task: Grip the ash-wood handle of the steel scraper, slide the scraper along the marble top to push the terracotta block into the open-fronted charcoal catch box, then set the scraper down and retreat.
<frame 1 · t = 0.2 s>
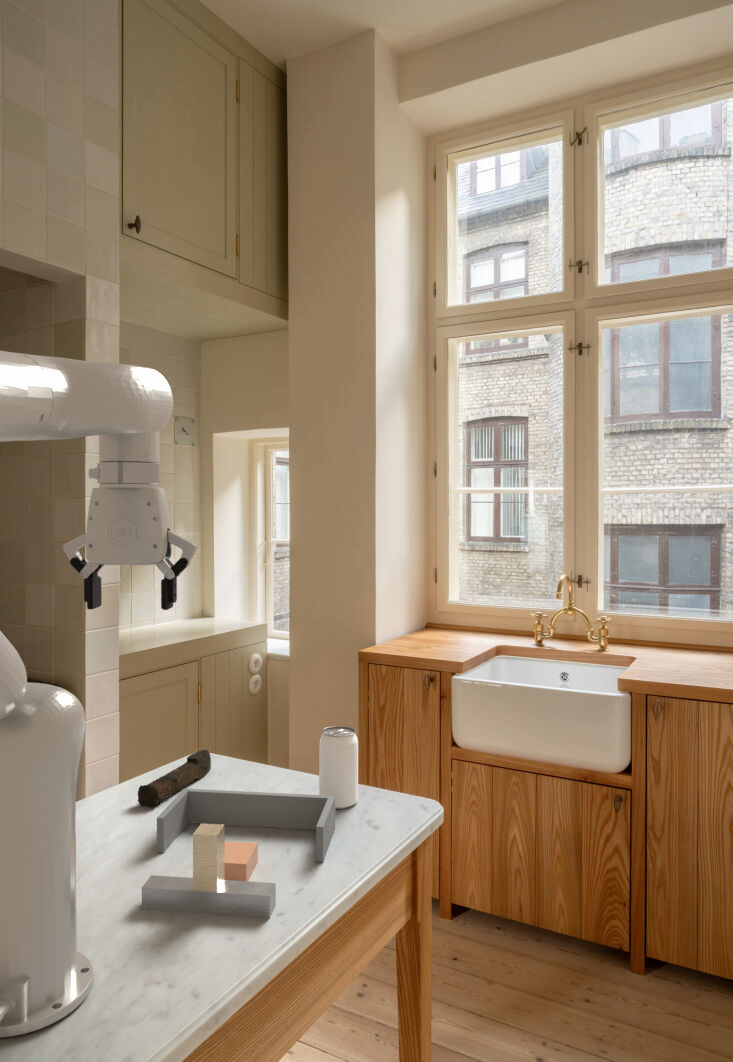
hand: (130, 608, 97), 36 cm above the table, tool pointing down, fingers open, 9 cm apart
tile: (230, 873, 100), on the table
catch box: (248, 841, 109), on the table
can: (338, 803, 124), on the table
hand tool: (177, 789, 130), on the table
scraper: (209, 909, 91), on the table
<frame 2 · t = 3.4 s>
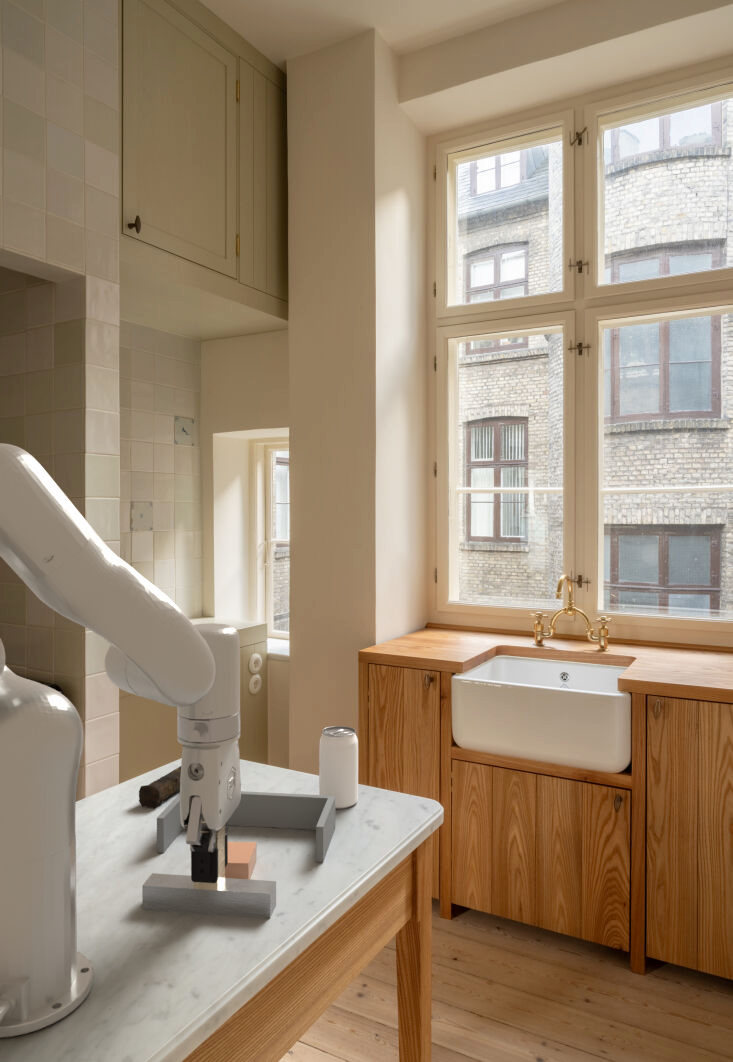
hand: (209, 872, 91), 4 cm above the table, tool pointing down, fingers closed on scraper, 3 cm apart
scraper: (209, 907, 91), on the table, touching gripper
everything else where it was.
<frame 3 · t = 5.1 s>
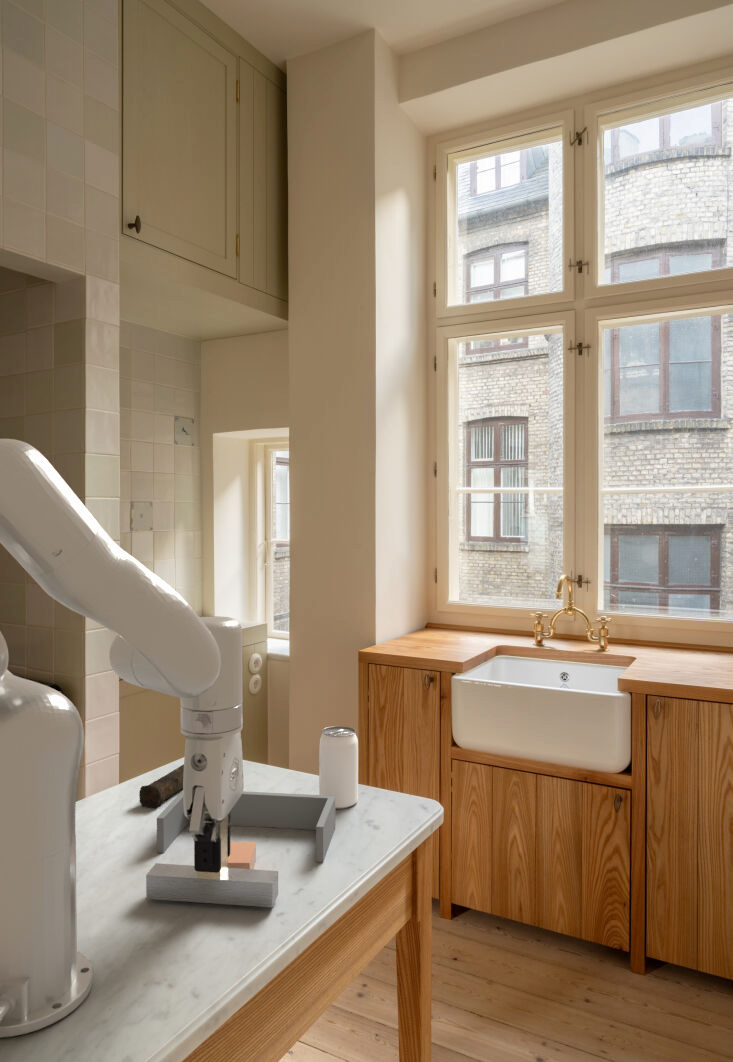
hand: (212, 862, 92), 5 cm above the table, tool pointing down, fingers closed on scraper, 3 cm apart
scraper: (212, 896, 92), point 1 cm above the table, touching gripper
everything else where it was.
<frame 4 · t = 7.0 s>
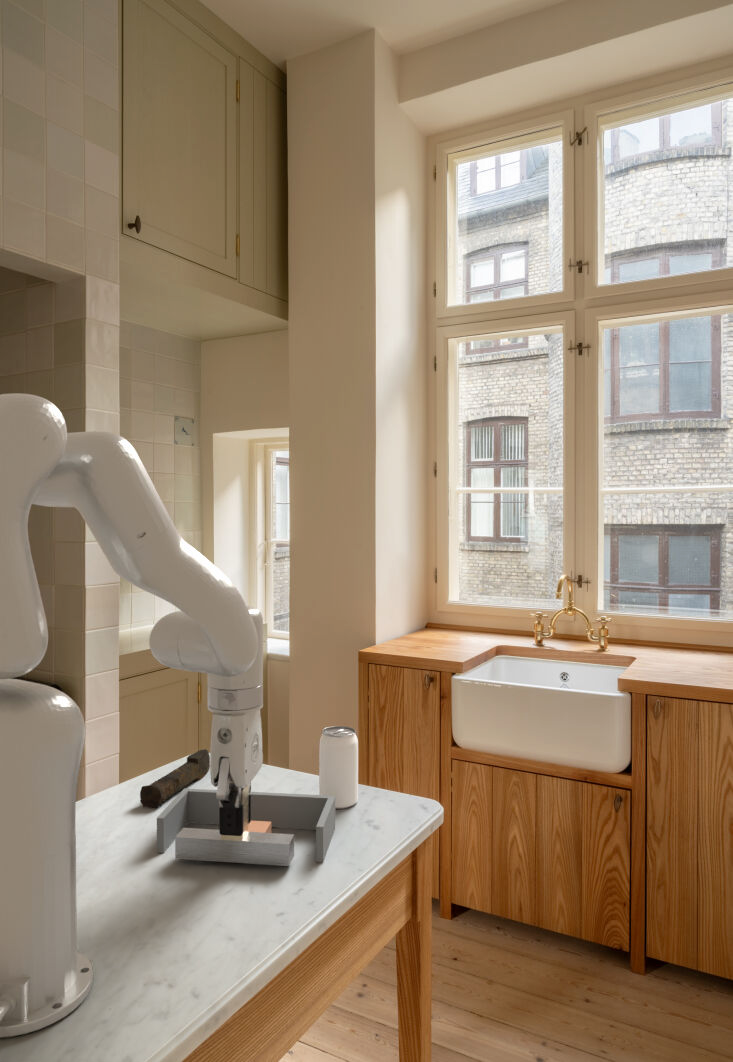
hand: (235, 827, 102), 5 cm above the table, tool pointing down, fingers closed on scraper, 3 cm apart
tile: (246, 849, 107), on the table
scraper: (235, 857, 102), point 1 cm above the table, touching gripper
everything else where it was.
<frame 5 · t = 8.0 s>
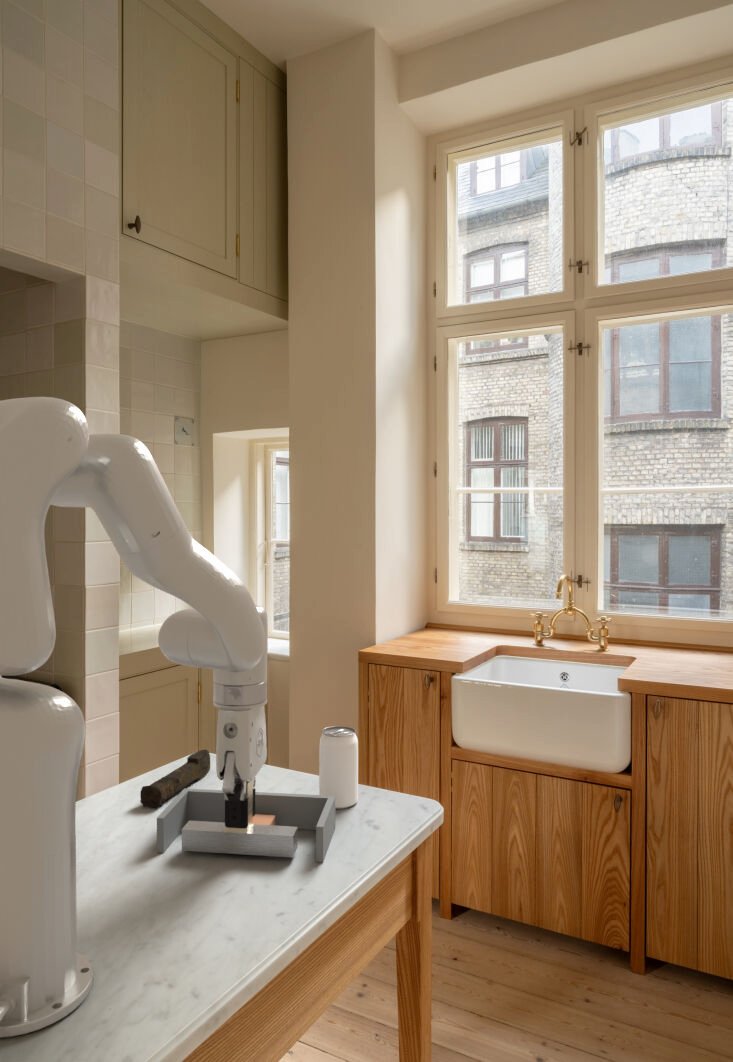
hand: (240, 820, 105), 5 cm above the table, tool pointing down, fingers closed on scraper, 3 cm apart
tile: (250, 842, 109), on the table
scraper: (239, 849, 105), point 1 cm above the table, touching gripper
everything else where it was.
when the fingers open (4 cm above the table, at t = 10.5 s): scraper stays where it is, on the table.
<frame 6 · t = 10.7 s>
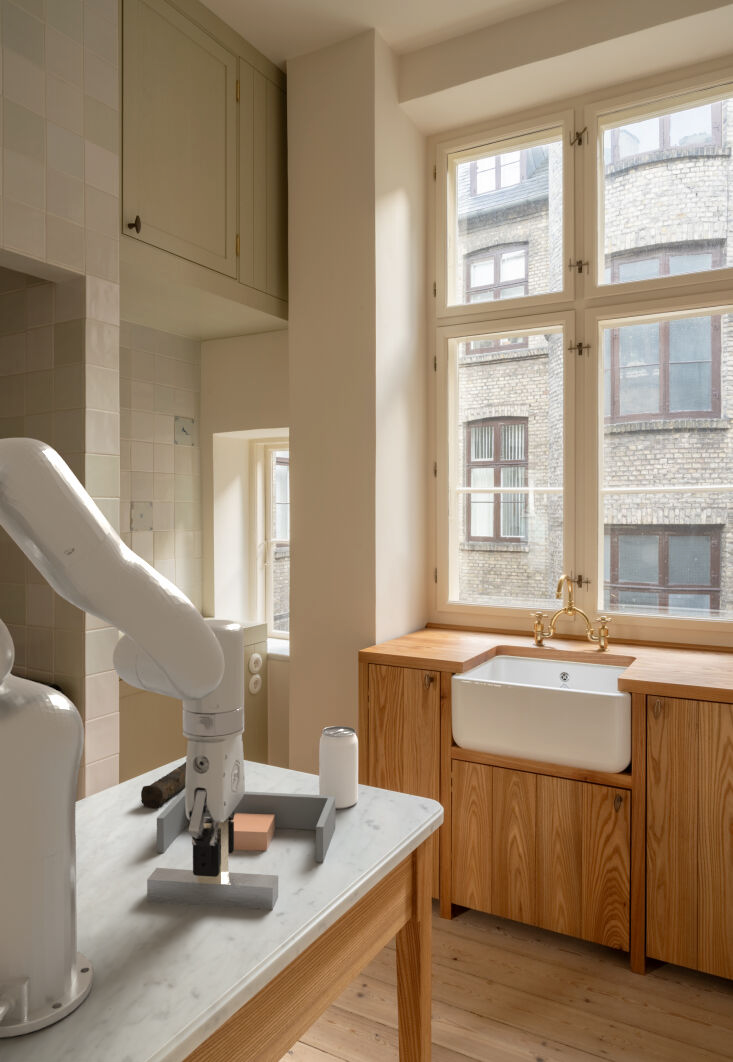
hand: (214, 861, 93), 5 cm above the table, tool pointing down, fingers open, 5 cm apart
scraper: (213, 900, 93), on the table
everything else where it was.
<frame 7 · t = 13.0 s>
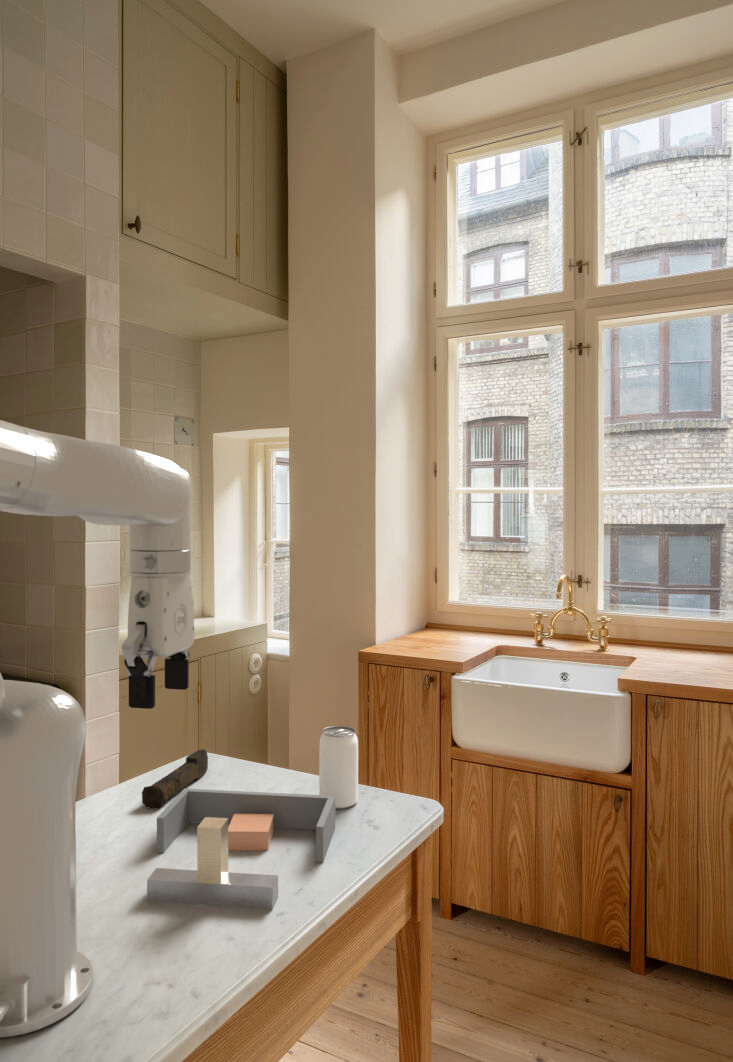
hand: (160, 697, 94), 25 cm above the table, tool pointing down, fingers open, 9 cm apart
nothing on the table moved.
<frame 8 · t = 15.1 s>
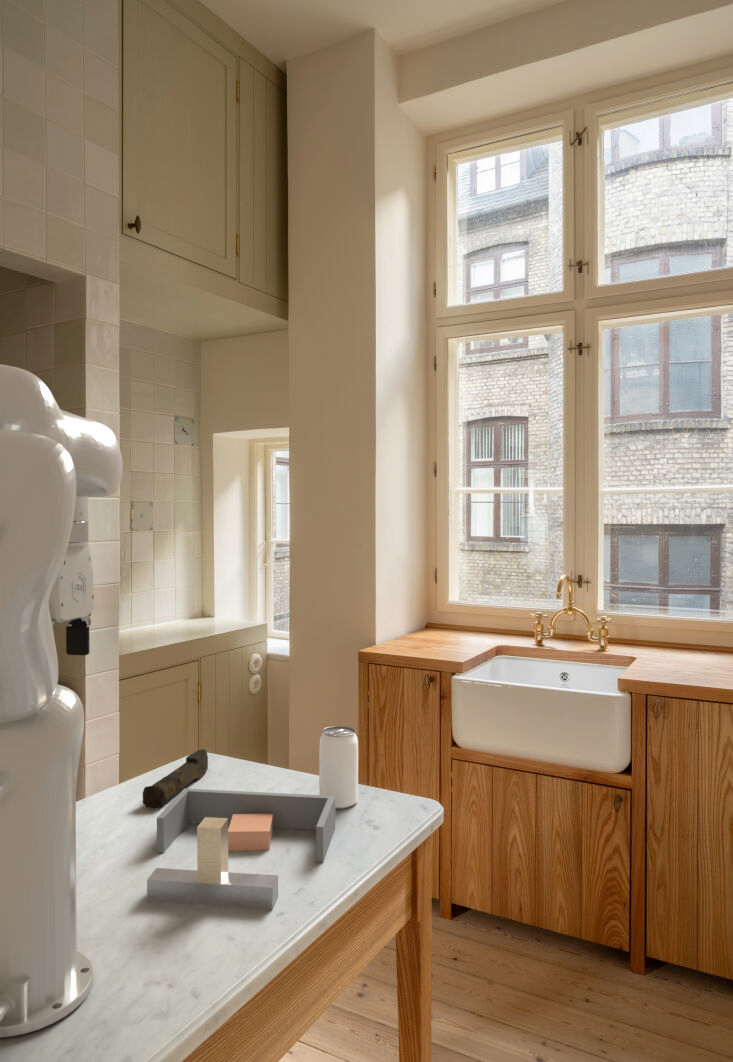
hand: (59, 662, 100), 28 cm above the table, tool pointing down, fingers open, 9 cm apart
nothing on the table moved.
at the end: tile inside the target area on the catch box (0.3 cm from its centre), point 0.0 cm above the catch box's base; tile tilted 0°; the gripper is holding nothing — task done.
